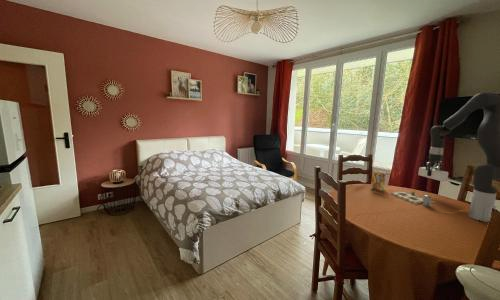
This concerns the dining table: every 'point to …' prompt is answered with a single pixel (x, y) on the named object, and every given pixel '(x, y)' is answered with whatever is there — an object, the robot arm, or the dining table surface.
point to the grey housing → (434, 174)
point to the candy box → (378, 180)
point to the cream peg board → (408, 197)
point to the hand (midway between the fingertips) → (432, 175)
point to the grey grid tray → (416, 195)
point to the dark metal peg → (427, 200)
